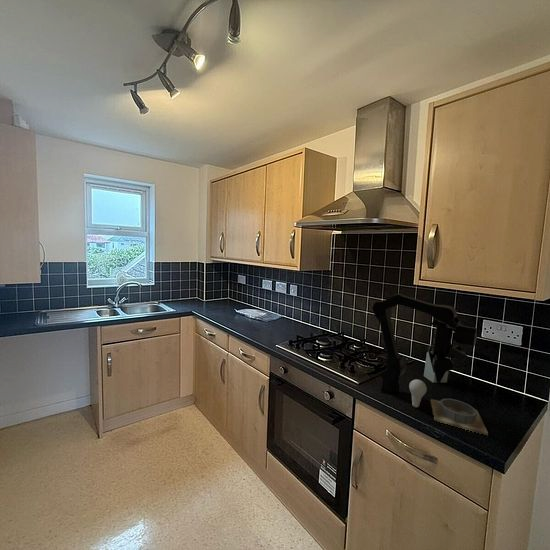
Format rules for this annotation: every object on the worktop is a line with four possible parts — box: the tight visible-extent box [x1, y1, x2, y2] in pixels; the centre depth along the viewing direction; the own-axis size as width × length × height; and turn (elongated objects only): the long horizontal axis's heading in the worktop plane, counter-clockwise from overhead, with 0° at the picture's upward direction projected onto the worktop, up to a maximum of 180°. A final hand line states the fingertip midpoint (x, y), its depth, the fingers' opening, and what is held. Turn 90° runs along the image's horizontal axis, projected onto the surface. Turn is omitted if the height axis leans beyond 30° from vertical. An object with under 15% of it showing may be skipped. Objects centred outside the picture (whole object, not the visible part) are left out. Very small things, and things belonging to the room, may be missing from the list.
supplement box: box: [423, 351, 451, 384], centre depth 144 cm, size 7×7×13 cm
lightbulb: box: [408, 379, 428, 408], centre depth 116 cm, size 6×6×11 cm
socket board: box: [430, 398, 489, 437], centre depth 111 cm, size 16×16×4 cm
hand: (436, 377), depth 116 cm, fingers open, 9 cm apart
